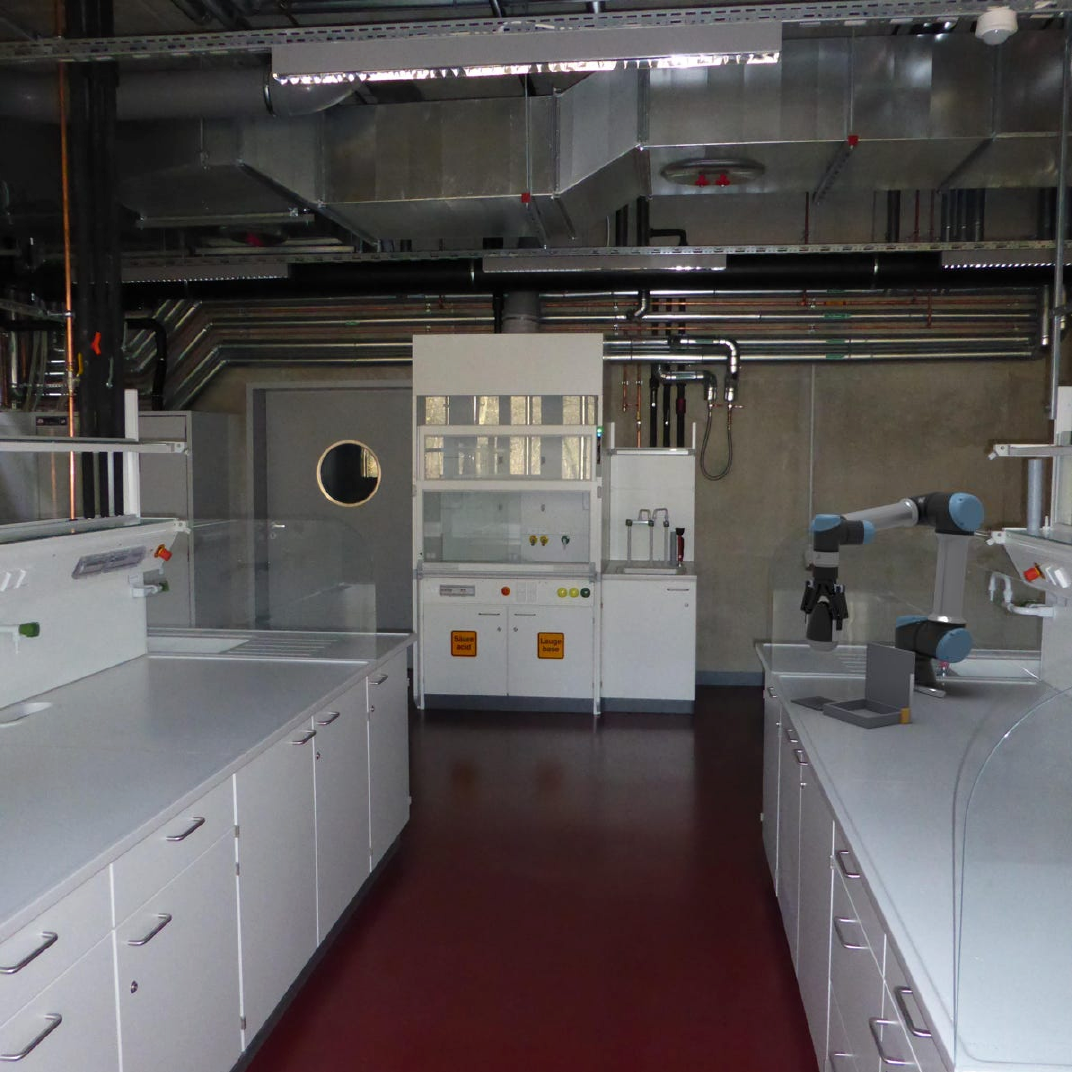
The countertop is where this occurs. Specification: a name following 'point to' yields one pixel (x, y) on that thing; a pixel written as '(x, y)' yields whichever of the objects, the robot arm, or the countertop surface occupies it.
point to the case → (881, 689)
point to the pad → (813, 702)
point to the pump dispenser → (821, 628)
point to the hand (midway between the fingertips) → (822, 637)
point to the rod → (929, 691)
